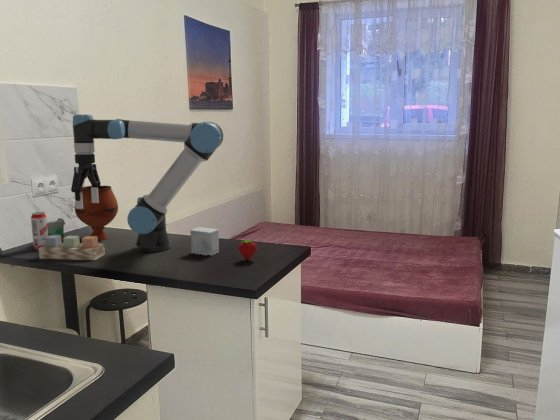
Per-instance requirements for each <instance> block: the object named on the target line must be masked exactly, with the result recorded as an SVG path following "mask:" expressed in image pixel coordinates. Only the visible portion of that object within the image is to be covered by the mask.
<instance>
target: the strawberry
mask: <svg viewBox="0 0 560 420" xmlns="http://www.w3.org/2000/svg"><path fill="white" fill-rule="evenodd" d="M257 249H258V246H257V244H256V243H255V242H254V241H253V240H250V239H249V240H247V239H245V240H240V243H239V244H238V252H239V253H240V254H241V256H242V257H243V258H244V259H245V260H246V261H250V260H251V258H253V256H254V255H255V254H256V252H257Z"/></svg>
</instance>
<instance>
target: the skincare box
mask: <svg viewBox="0 0 560 420" xmlns="http://www.w3.org/2000/svg"><path fill="white" fill-rule="evenodd" d="M219 238H220V237H219V229H218V228H210V227H208V228H207V227H201V226H197V227H195V228H193V229H190V249H191V250H190V252H191V254H193V253H194V254H195V255H200V254H201V255H203V256H207V255H211V256H210V257H213V256H215V255H217V254H219V253H220V245H219V244H220V243H219V242H220V240H219ZM218 252H219V253H218ZM216 253H217V254H216ZM214 254H215V255H214ZM212 255H213V256H212Z"/></svg>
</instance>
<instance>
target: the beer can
mask: <svg viewBox="0 0 560 420" xmlns="http://www.w3.org/2000/svg"><path fill="white" fill-rule="evenodd" d="M47 218H48V217H47V215H46V213H45V212H44V211H37V212H33V213H31V216H30V223H31V235H32V242H33V243H32V244H33V249H35V250H36V251H39V248H40V247H42V246H44V245H45V237H48V227H47V223H48V219H47Z"/></svg>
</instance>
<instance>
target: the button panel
mask: <svg viewBox="0 0 560 420" xmlns="http://www.w3.org/2000/svg"><path fill="white" fill-rule="evenodd" d="M38 255H39V256H38V257H39V260H75V261H77V260H78V261H97V260H98V259H100V258H101V257H103V256H104V255H106V249H105V243H98V246H97V247H95V248H93V249H92V248H82V242H81V243H80V245H79V246H77V247H75V248H64V244H63V242H62V245H60V246H58V247H56V248H55V247H45V245H44V246H42V247H40V248H39V250H38Z"/></svg>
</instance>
